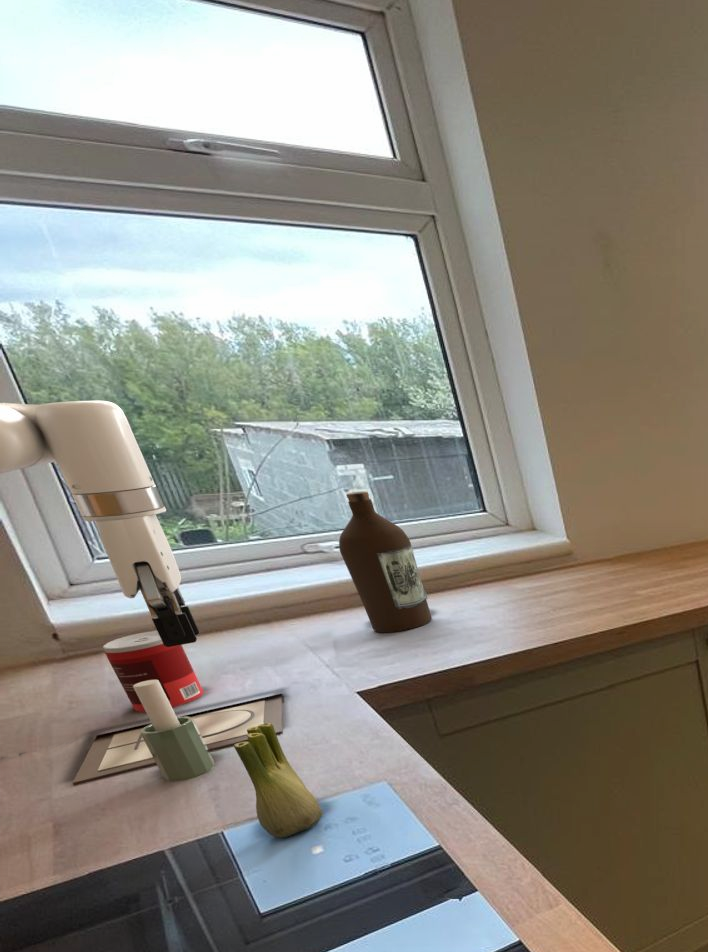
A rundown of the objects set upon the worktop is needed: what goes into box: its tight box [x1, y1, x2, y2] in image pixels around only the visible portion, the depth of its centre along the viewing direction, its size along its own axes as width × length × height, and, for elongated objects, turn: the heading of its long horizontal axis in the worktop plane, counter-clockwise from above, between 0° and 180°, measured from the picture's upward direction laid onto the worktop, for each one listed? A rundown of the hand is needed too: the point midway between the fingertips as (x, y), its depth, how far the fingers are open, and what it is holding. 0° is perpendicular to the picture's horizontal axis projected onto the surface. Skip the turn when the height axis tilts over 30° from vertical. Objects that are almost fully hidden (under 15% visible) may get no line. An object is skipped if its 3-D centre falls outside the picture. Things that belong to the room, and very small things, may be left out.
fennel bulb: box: [233, 723, 323, 838], centre depth 85 cm, size 6×5×12 cm
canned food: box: [102, 630, 205, 713], centre depth 119 cm, size 8×8×11 cm
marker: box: [133, 680, 180, 731], centre depth 98 cm, size 2×2×12 cm
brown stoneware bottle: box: [338, 490, 433, 633], centre depth 150 cm, size 11×11×25 cm
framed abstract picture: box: [72, 693, 285, 786], centre depth 111 cm, size 20×18×1 cm
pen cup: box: [140, 715, 216, 782], centre depth 99 cm, size 5×5×7 cm
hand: (182, 639), depth 110 cm, fingers open, 3 cm apart
